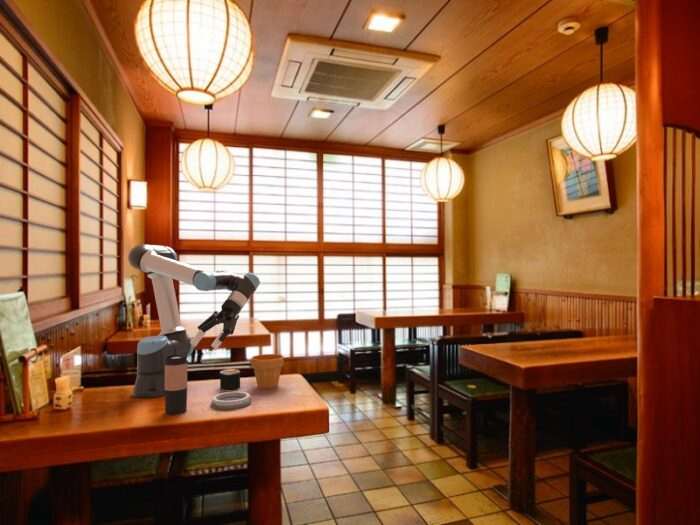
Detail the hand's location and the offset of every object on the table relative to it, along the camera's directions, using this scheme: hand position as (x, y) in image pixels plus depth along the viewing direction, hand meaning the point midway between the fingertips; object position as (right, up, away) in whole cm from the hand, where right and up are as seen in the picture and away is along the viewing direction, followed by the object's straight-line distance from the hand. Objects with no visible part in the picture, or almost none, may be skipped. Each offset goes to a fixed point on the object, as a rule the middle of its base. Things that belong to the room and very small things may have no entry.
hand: (202, 346), depth 165 cm
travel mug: (-7, -22, -9) cm, 25 cm away
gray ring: (+11, -22, 0) cm, 25 cm away
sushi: (+4, -23, +23) cm, 33 cm away
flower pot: (+20, -23, +26) cm, 40 cm away
